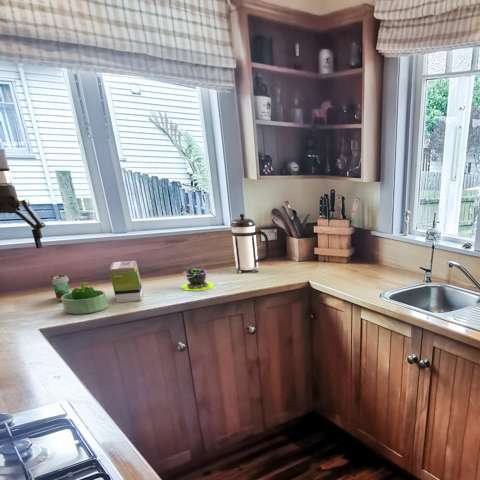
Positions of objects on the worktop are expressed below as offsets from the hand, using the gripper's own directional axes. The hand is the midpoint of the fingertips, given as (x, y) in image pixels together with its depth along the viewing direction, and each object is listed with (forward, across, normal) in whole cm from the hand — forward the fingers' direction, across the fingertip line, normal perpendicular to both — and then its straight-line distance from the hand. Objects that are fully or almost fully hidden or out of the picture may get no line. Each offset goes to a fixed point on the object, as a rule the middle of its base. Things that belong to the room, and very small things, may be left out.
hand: (18, 247), depth 168 cm
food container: (+27, +1, -27) cm, 38 cm away
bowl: (+26, -14, -10) cm, 31 cm away
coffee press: (+25, -76, -73) cm, 108 cm away
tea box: (+26, -26, -26) cm, 45 cm away
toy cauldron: (+26, -53, -41) cm, 72 cm away
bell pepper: (+26, -14, -10) cm, 31 cm away
